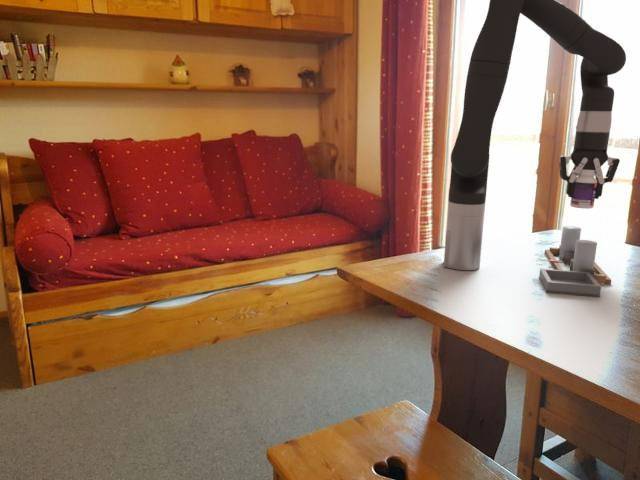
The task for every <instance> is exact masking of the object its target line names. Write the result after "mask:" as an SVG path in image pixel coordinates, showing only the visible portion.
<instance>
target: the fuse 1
mask: <svg viewBox="0 0 640 480" xmlns="http://www.w3.org/2000/svg"><path fill="white" fill-rule="evenodd" d="M581 233H582V227H579V226H573V225H563V226H562V230H561V238H560V245H559V246H560V253H559V256H558V259H559V260H561V261H563V257H564V251H572V252H575V246H576V241H577V240H581Z"/></svg>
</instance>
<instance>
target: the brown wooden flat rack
mask: <svg viewBox="0 0 640 480" xmlns="http://www.w3.org/2000/svg"><path fill="white" fill-rule="evenodd" d="M559 253H560V245H559V247H551V246H550V247H549V249H545V250H544V254H545V255H544V256H546V258H547V260H548V261H549V263H550V264H551V266H552V269H553V270H564V269H563V267H562V266H561V264H562V263H564V265H569V270H568V271H572V268H573V261H574V253H575V252H572V251H564V257H563V260H561V259H559V260H558V259H556V257H555V256H558V257H559ZM560 263H561V264H560ZM578 271H579V272H589V273H590V274H591V275H592V276H593V277H594V279H595V280H596V281H597V282H598V283H599V284H601V285H610V286H611V285H612V279H611V277H609V276H608V275H607V274H606V273H605V271H604V270H602V268H601V267H600V266H599V265H598V264H597V263H596V262H594V268H593V269H581V268H578Z"/></svg>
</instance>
